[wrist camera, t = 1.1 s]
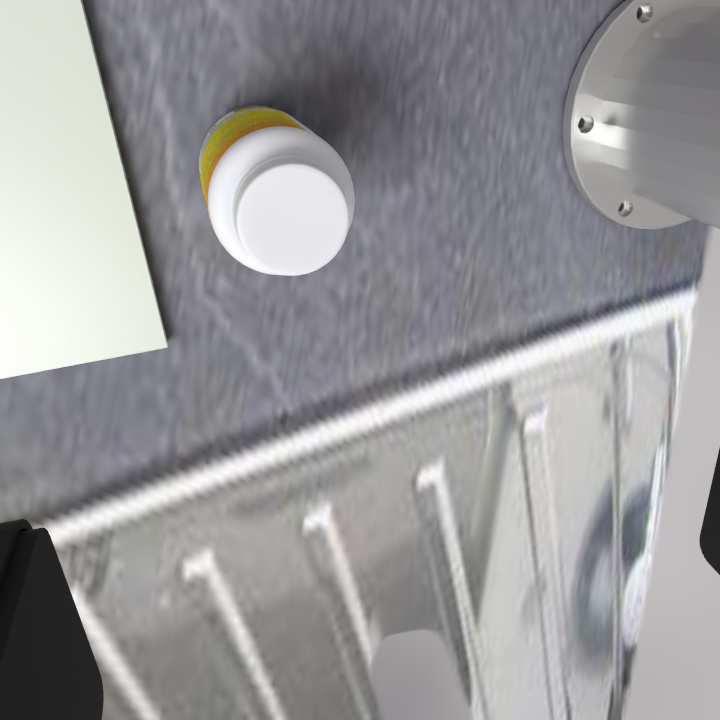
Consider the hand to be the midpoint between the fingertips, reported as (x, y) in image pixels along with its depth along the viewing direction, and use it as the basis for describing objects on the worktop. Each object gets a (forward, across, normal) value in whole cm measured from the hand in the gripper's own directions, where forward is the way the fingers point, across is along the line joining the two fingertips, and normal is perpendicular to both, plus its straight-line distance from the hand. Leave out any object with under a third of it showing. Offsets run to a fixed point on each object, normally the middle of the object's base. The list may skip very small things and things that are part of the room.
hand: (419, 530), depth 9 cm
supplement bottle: (+26, 0, 0) cm, 26 cm away
